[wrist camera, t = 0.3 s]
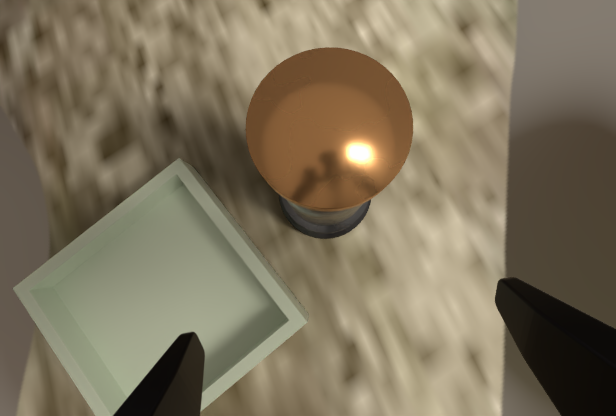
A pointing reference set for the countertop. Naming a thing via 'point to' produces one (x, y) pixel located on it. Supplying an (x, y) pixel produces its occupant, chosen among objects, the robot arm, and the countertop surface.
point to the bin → (160, 292)
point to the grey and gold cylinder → (328, 134)
